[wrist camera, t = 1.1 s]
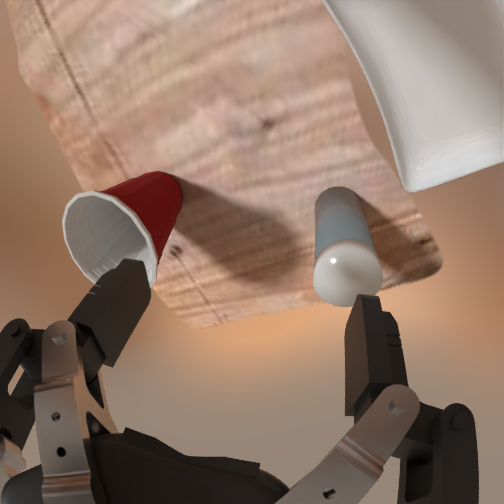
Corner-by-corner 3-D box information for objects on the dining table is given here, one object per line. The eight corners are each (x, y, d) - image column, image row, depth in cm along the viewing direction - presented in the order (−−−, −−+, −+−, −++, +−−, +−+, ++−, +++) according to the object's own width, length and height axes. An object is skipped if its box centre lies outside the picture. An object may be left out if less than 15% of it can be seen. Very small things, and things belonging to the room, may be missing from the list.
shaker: (316, 182, 29) (319, 248, 19) (366, 189, 28) (391, 257, 19) (311, 226, 32) (308, 303, 22) (357, 232, 31) (371, 309, 22)
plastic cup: (153, 128, 28) (82, 168, 18) (222, 197, 32) (182, 266, 22) (107, 189, 33) (46, 241, 24) (166, 246, 37) (122, 313, 27)
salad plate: (539, 137, 19) (556, 147, 16) (397, 185, 27) (406, 199, 25) (481, -36, 9) (496, -42, 7) (308, -8, 18) (308, -18, 15)
